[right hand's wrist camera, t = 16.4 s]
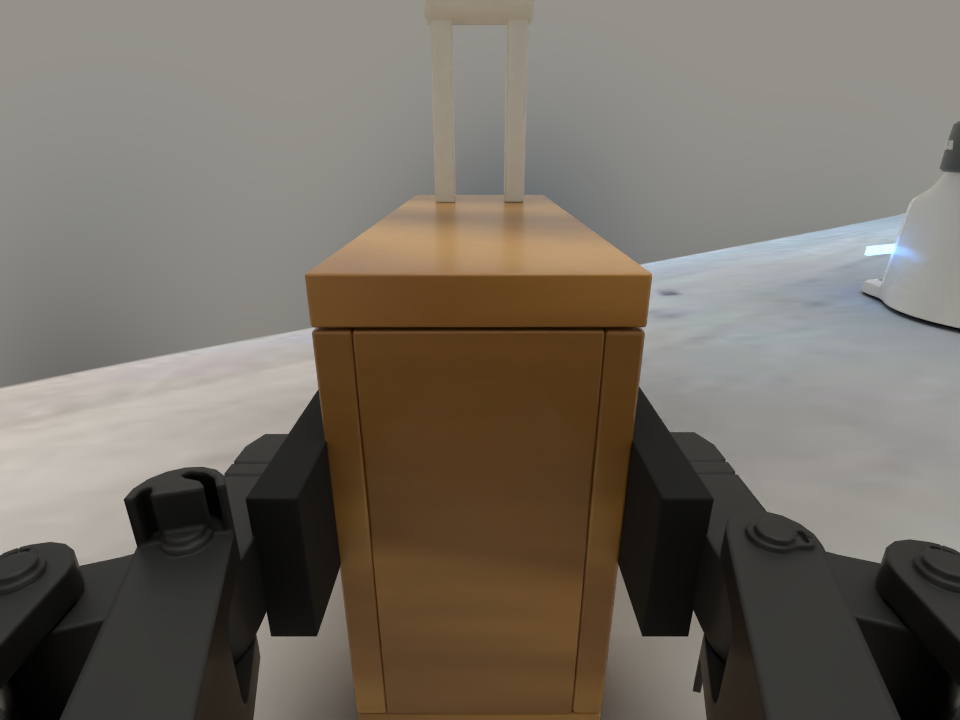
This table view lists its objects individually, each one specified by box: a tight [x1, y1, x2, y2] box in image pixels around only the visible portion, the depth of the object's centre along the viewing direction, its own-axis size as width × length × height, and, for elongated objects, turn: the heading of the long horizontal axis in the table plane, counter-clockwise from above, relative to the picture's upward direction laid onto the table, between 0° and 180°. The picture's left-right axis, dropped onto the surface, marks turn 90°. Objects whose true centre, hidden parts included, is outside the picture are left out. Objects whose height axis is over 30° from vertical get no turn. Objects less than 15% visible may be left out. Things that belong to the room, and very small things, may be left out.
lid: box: [305, 0, 652, 327], centre depth 14 cm, size 16×5×8 cm, turn 0°
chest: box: [312, 327, 645, 720], centre depth 17 cm, size 15×5×10 cm, turn 0°
